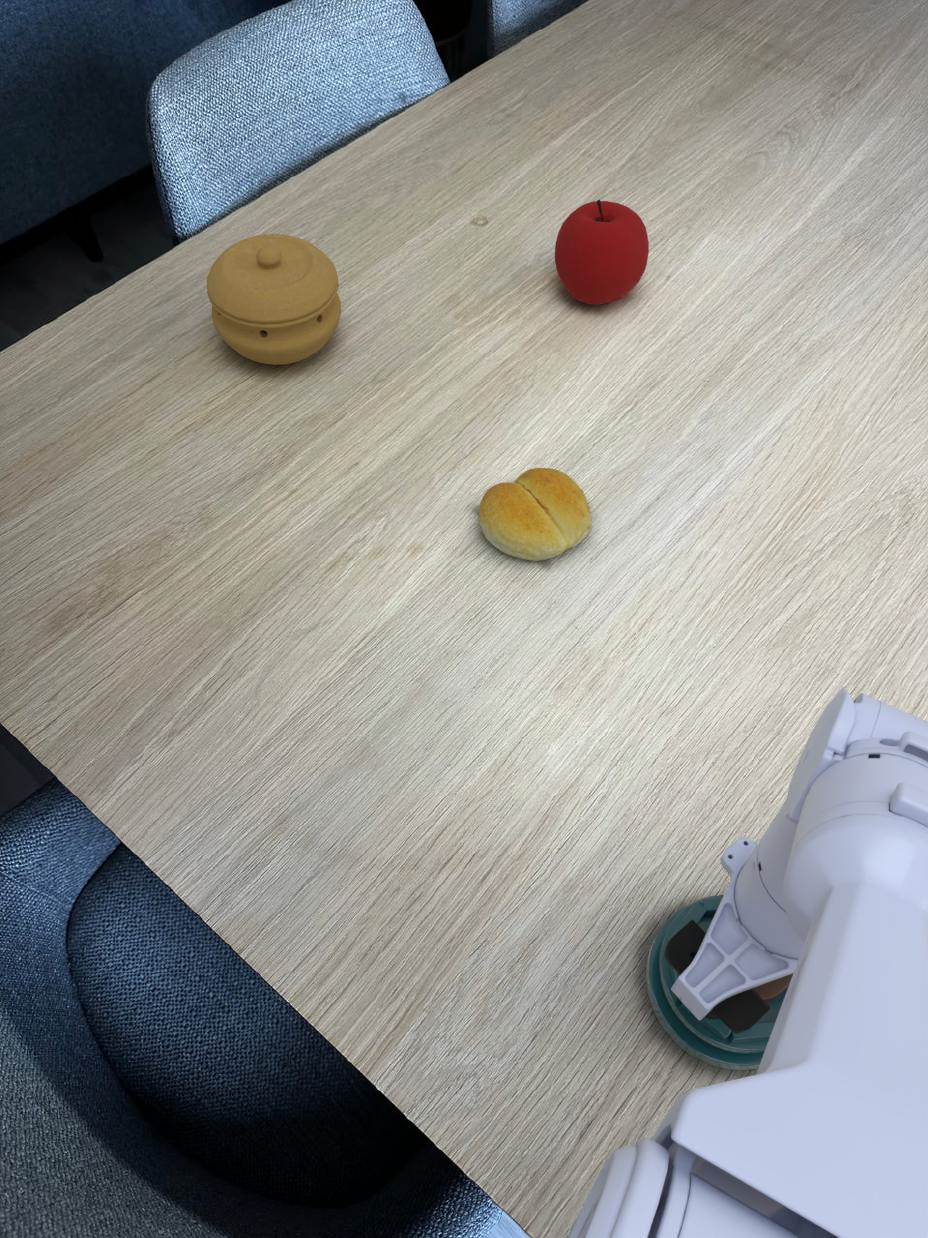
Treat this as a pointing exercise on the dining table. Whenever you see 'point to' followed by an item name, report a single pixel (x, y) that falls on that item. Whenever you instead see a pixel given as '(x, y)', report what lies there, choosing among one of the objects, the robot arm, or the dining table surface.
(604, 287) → the apple
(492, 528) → the bread roll
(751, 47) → the dining table surface
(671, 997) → the stand
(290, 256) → the pot
